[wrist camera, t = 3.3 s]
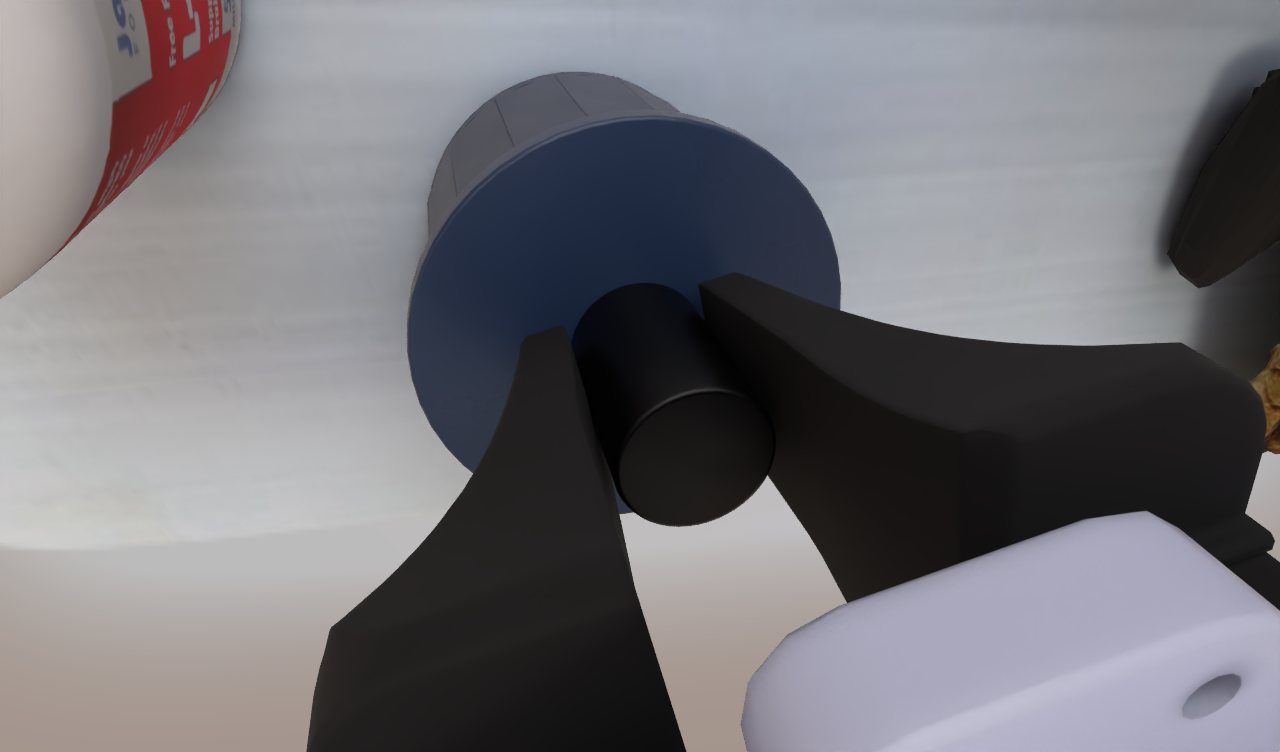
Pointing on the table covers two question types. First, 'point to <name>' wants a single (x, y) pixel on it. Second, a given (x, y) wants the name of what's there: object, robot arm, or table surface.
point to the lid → (619, 297)
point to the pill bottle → (95, 107)
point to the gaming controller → (1234, 195)
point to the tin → (527, 124)
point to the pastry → (1270, 399)
